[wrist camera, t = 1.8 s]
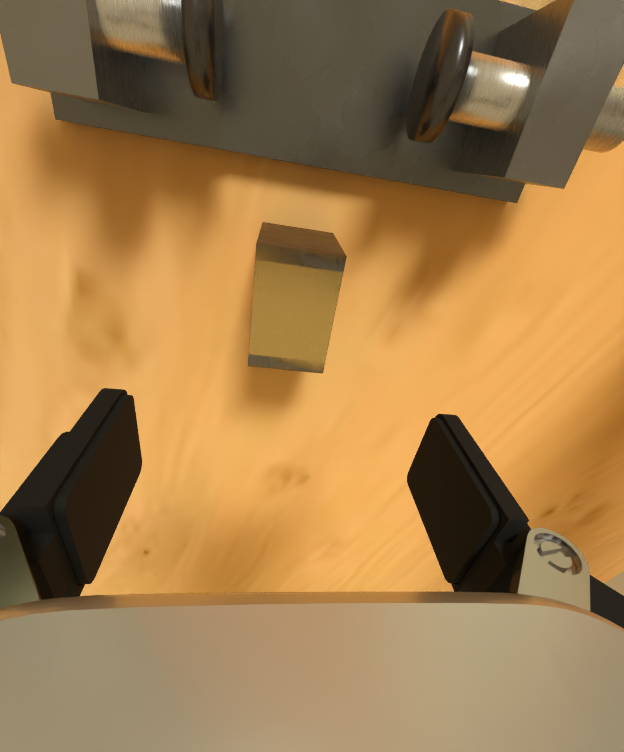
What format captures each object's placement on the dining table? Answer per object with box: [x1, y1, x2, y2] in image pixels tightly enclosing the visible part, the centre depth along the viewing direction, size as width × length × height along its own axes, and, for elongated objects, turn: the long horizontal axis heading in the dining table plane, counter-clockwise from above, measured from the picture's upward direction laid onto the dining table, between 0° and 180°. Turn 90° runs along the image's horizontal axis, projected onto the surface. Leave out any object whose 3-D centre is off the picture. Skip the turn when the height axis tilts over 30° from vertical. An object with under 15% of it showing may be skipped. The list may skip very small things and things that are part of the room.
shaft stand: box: [0, 0, 624, 203], centre depth 16 cm, size 28×8×7 cm, turn 81°
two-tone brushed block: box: [248, 222, 347, 373], centre depth 22 cm, size 7×4×6 cm, turn 171°
